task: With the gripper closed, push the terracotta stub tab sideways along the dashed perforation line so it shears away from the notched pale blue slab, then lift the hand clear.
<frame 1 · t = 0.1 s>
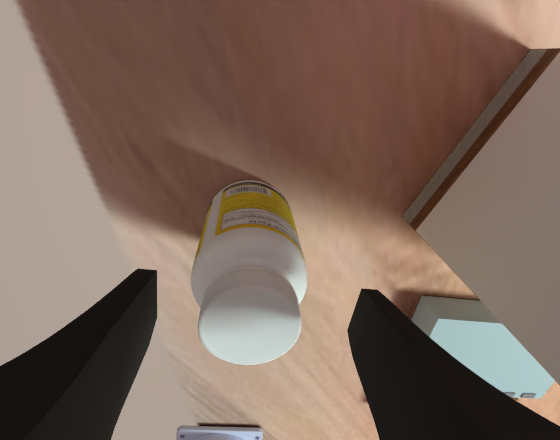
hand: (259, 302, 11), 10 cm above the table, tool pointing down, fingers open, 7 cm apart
stub: (448, 404, 29), point 1 cm above the table, slide at 0.0 cm
notched pale blue slab: (475, 338, 28), on the table
supplement bottle: (250, 215, 21), on the table
brown-striped cream pillar: (515, 178, 21), on the table
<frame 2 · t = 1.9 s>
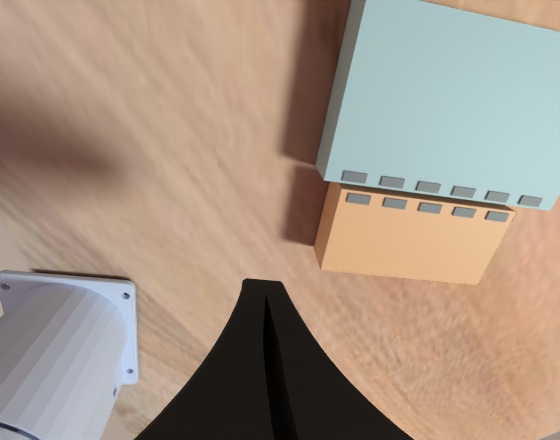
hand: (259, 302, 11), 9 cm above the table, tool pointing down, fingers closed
stub: (407, 231, 19), point 1 cm above the table, slide at 0.0 cm
notched pale blue slab: (446, 111, 18), on the table
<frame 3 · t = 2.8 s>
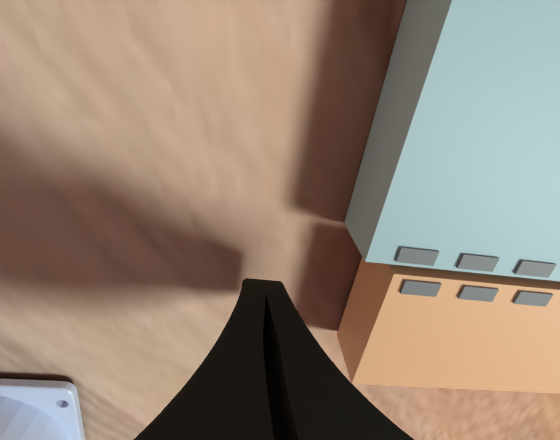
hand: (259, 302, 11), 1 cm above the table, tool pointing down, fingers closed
stub: (482, 320, 13), point 1 cm above the table, slide at 0.0 cm
notched pale blue slab: (555, 141, 11), on the table
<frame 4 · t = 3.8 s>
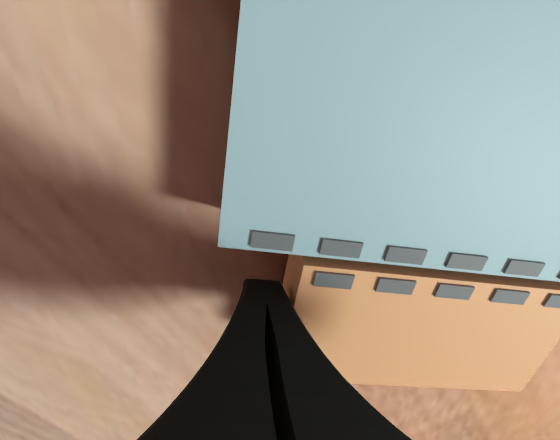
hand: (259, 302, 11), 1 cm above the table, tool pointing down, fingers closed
stub: (414, 314, 12), point 1 cm above the table, slide at 1.5 cm, touching gripper
notched pale blue slab: (438, 122, 10), on the table
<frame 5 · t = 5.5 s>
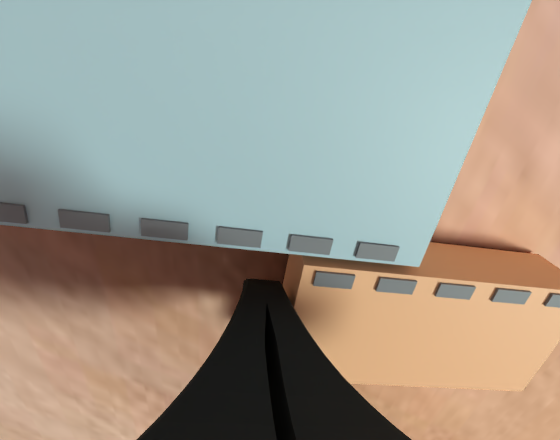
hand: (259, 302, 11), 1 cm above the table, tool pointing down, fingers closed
stub: (415, 314, 12), point 1 cm above the table, slide at 8.4 cm, touching gripper
notched pale blue slab: (222, 84, 9), on the table
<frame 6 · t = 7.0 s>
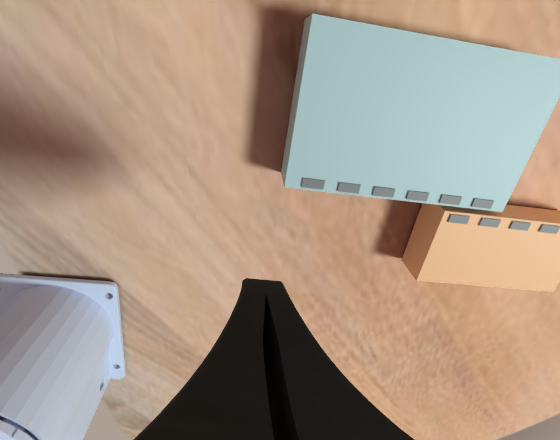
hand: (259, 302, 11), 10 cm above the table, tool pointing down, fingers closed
stub: (491, 245, 21), point 1 cm above the table, slide at 8.4 cm
notched pale blue slab: (402, 119, 19), on the table
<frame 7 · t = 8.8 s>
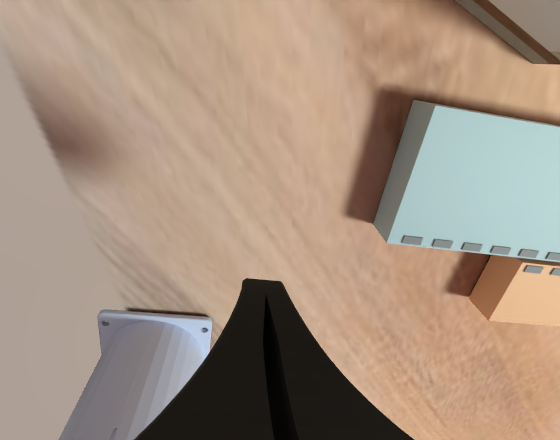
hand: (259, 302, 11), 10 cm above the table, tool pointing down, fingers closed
stub: (554, 288, 24), point 1 cm above the table, slide at 8.4 cm
notched pale blue slab: (485, 180, 21), on the table
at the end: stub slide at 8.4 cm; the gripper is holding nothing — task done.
